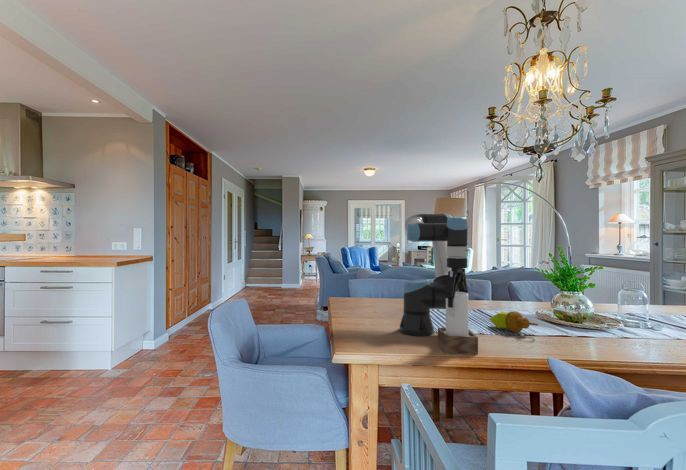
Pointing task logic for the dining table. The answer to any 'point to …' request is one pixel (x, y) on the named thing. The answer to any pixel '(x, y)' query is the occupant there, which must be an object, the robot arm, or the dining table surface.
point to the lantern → (511, 321)
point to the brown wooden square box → (458, 343)
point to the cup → (458, 316)
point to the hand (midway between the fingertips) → (456, 312)
